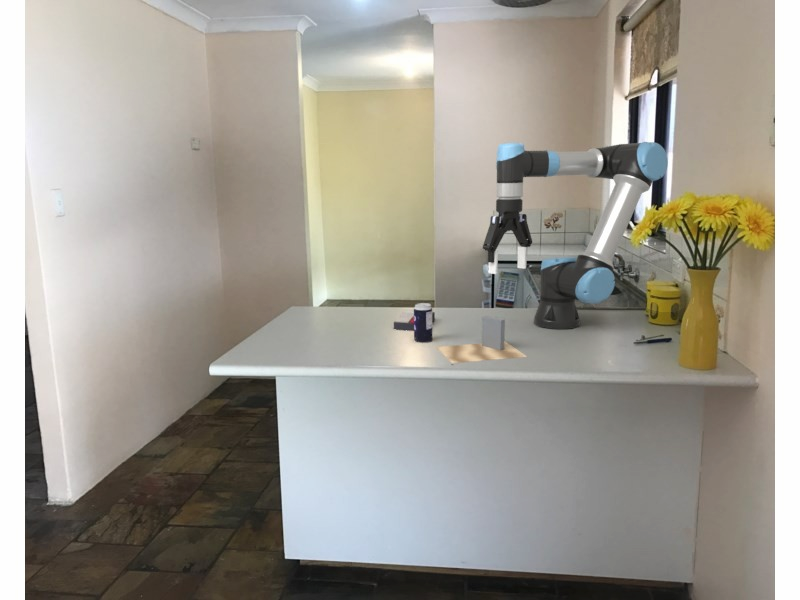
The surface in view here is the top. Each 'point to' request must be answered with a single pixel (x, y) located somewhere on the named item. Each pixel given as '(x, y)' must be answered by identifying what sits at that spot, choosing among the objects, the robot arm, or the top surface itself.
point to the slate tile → (493, 332)
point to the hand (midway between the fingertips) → (507, 270)
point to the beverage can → (423, 322)
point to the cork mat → (478, 353)
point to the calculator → (408, 321)
